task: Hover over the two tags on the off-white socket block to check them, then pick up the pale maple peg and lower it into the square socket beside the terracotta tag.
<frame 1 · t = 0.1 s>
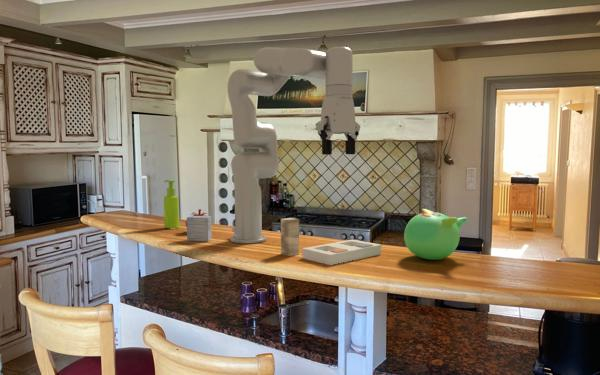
hand: (338, 154, 135), 31 cm above the countertop, tool pointing down, fingers open, 9 cm apart
grey gift box: (199, 241, 172), on the countertop
maple peg: (290, 254, 149), on the countertop
toy bird: (433, 259, 142), on the countertop
socket block: (342, 256, 146), on the countertop
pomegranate: (198, 233, 189), on the countertop
soap dispenser: (171, 228, 200), on the countertop
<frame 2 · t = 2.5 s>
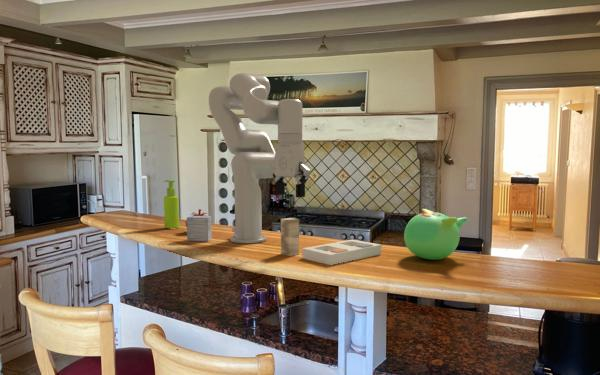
hand: (290, 195, 148), 18 cm above the countertop, tool pointing down, fingers open, 9 cm apart
nothing on the countertop moved.
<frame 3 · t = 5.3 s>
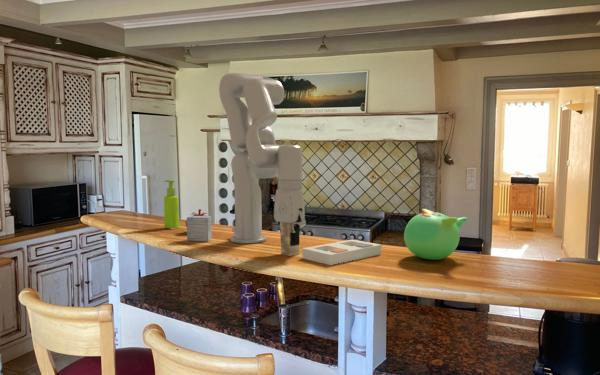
hand: (290, 243, 149), 3 cm above the countertop, tool pointing down, fingers closed on maple peg, 4 cm apart
maple peg: (290, 254, 149), on the countertop, touching gripper
everything else where it was.
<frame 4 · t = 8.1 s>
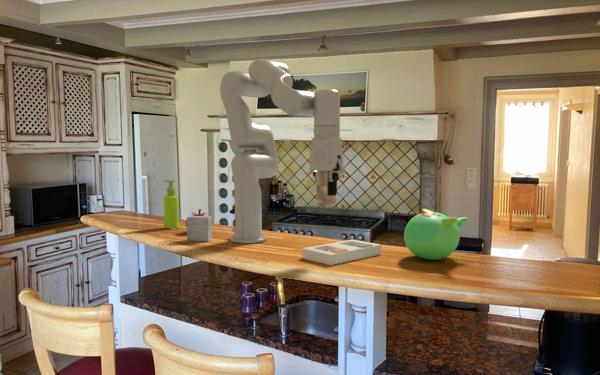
hand: (326, 194, 142), 19 cm above the countertop, tool pointing down, fingers closed on maple peg, 4 cm apart
maple peg: (326, 205, 142), point 16 cm above the countertop, touching gripper
everything else where it was.
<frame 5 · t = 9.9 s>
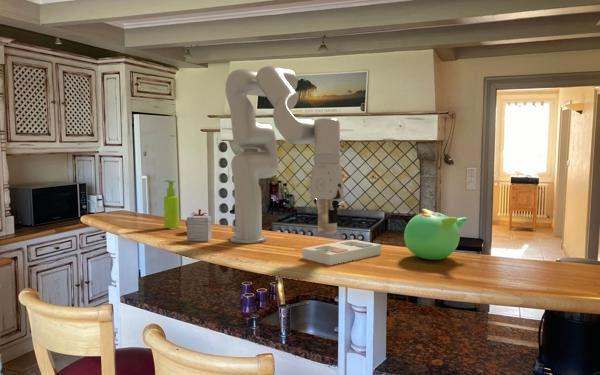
hand: (327, 221, 142), 11 cm above the countertop, tool pointing down, fingers closed on maple peg, 4 cm apart
maple peg: (327, 232, 142), point 8 cm above the countertop, touching gripper
everything else where it was.
when the fingers open (5 cm above the countertop, at t = 11.4 s): maple peg drops 1 cm, resting in socket block.
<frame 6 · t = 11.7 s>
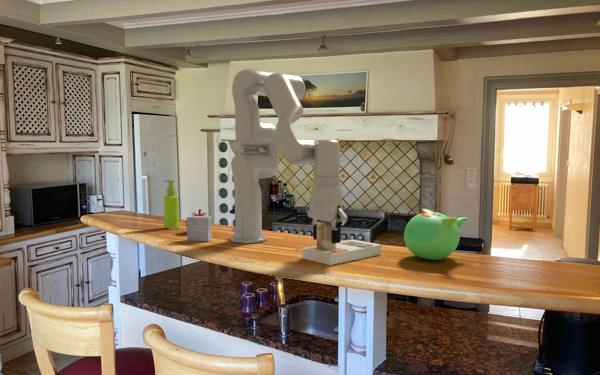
hand: (326, 240, 143), 5 cm above the countertop, tool pointing down, fingers open, 7 cm apart
maple peg: (326, 258, 143), resting in socket block
everything else where it was.
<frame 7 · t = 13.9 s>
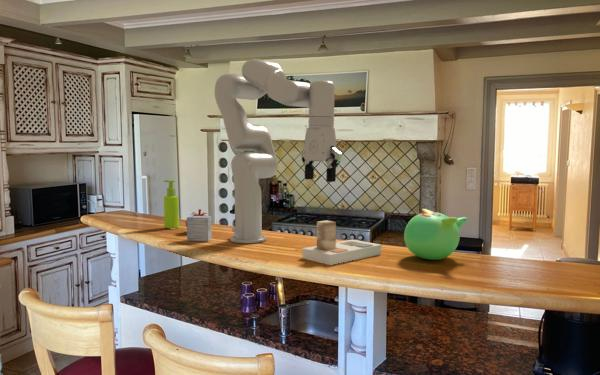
hand: (319, 180, 145), 23 cm above the countertop, tool pointing down, fingers open, 9 cm apart
nothing on the countertop moved.
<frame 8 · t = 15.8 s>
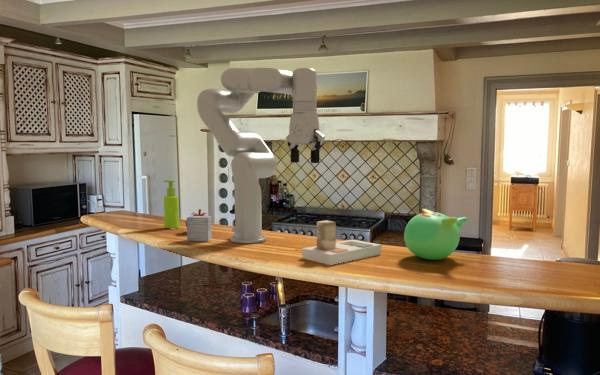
hand: (304, 162, 152), 28 cm above the countertop, tool pointing down, fingers open, 9 cm apart
nothing on the countertop moved.
at the end: maple peg 0.2 cm from the target spot on the socket block, point 0.0 cm above the socket block's base; maple peg tilted 0°; the gripper is holding nothing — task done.
